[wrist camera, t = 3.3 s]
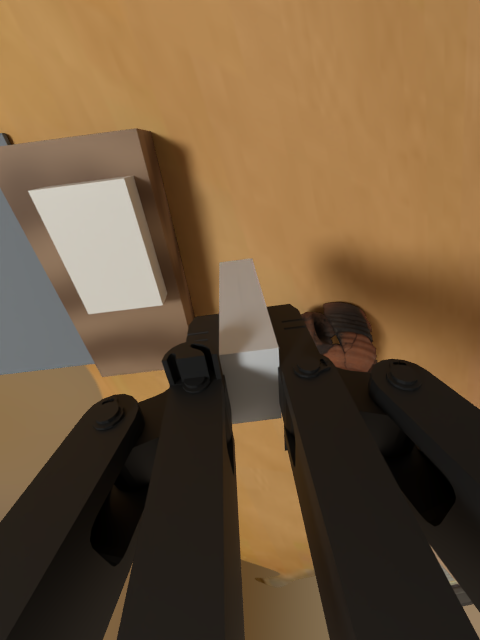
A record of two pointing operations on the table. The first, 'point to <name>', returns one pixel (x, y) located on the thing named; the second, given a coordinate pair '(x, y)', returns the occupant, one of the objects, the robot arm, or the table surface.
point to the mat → (31, 306)
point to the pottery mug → (343, 336)
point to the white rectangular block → (103, 243)
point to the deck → (141, 162)
